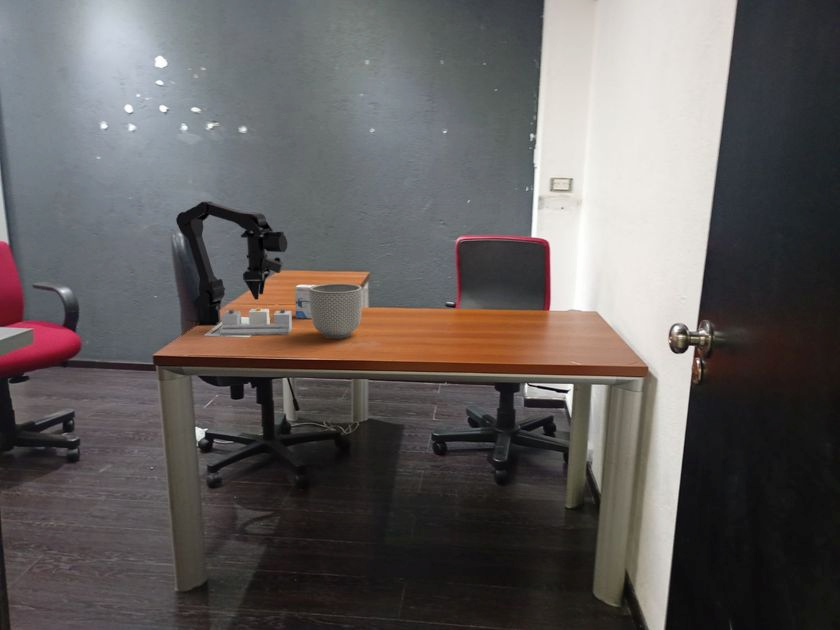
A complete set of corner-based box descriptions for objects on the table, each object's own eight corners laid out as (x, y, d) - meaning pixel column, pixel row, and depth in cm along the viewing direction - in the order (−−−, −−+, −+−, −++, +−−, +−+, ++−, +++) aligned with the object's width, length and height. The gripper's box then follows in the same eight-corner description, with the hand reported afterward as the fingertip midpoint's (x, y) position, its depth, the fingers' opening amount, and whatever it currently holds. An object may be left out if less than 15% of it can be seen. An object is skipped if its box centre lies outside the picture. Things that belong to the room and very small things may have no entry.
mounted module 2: (274, 332, 206) (273, 311, 205) (277, 328, 212) (276, 308, 211) (289, 332, 207) (288, 311, 205) (291, 327, 213) (291, 307, 211)
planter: (318, 345, 191) (317, 294, 188) (304, 332, 207) (302, 285, 203) (371, 339, 199) (370, 290, 195) (353, 327, 214) (352, 281, 210)
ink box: (295, 318, 227) (294, 286, 224) (299, 315, 232) (298, 284, 229) (318, 318, 226) (317, 287, 224) (321, 315, 231) (320, 284, 228)
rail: (220, 335, 202) (219, 326, 202) (222, 333, 205) (222, 324, 205) (288, 334, 204) (288, 325, 203) (289, 332, 207) (289, 323, 206)
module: (249, 329, 211) (248, 309, 209) (252, 325, 216) (251, 306, 214) (267, 329, 211) (266, 309, 210) (269, 325, 216) (268, 306, 215)
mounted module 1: (222, 333, 205) (221, 312, 204) (226, 328, 211) (225, 308, 209) (237, 332, 206) (236, 312, 204) (241, 328, 211) (240, 308, 210)
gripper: (276, 254, 199) (278, 301, 202) (284, 247, 217) (286, 291, 221) (241, 254, 198) (244, 302, 202) (252, 248, 216) (254, 291, 220)
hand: (259, 296), depth 211 cm, fingers open, 9 cm apart
